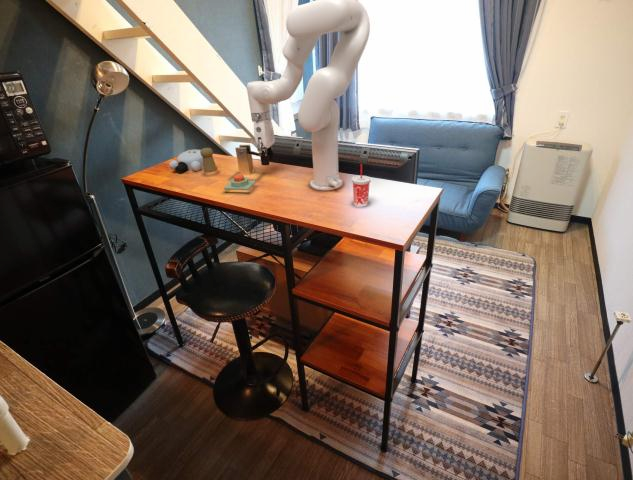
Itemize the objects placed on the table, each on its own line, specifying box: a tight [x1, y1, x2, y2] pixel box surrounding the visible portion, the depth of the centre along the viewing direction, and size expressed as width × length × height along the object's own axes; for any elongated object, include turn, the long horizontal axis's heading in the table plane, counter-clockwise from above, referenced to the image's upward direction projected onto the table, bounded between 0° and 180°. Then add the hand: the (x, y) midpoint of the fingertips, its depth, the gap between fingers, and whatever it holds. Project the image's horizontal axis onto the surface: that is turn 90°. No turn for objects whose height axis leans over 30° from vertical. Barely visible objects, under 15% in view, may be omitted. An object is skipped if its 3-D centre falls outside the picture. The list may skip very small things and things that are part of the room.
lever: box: [241, 146, 270, 158], centre depth 140 cm, size 12×5×2 cm, turn 79°
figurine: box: [168, 149, 204, 175], centre depth 156 cm, size 17×8×20 cm
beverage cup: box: [351, 163, 371, 208], centre depth 112 cm, size 6×6×14 cm
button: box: [233, 174, 245, 182], centre depth 131 cm, size 4×4×2 cm
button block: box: [223, 176, 257, 195], centre depth 132 cm, size 10×8×4 cm
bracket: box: [235, 144, 255, 176], centre depth 142 cm, size 12×9×13 cm
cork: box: [200, 147, 218, 173], centre depth 149 cm, size 6×6×11 cm
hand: (267, 162), depth 141 cm, fingers closed on lever, 5 cm apart
